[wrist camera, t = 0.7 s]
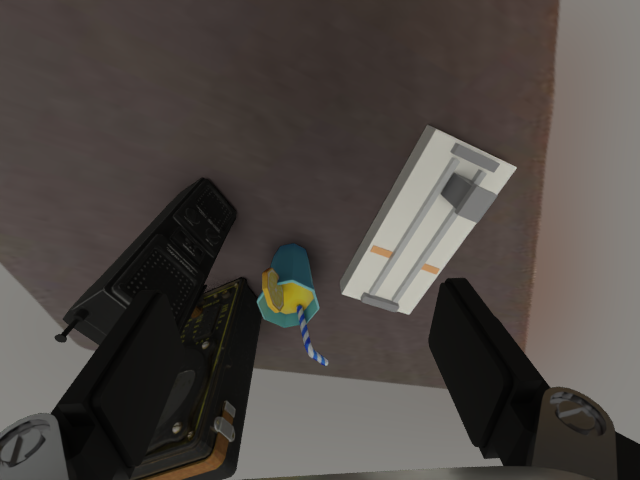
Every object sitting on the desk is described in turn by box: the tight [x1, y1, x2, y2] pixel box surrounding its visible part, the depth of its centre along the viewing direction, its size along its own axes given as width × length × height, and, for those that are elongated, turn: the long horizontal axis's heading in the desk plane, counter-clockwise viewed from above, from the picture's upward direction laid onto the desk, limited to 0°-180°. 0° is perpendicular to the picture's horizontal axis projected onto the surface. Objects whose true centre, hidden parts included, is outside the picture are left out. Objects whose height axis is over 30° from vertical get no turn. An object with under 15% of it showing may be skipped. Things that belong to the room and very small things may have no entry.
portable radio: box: [55, 178, 236, 345], centre depth 32 cm, size 8×6×25 cm
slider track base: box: [340, 125, 517, 315], centre depth 44 cm, size 26×12×4 cm, turn 157°
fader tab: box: [441, 173, 498, 223], centre depth 37 cm, size 4×3×6 cm
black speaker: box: [129, 278, 262, 480], centre depth 41 cm, size 16×9×25 cm, turn 115°
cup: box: [257, 243, 328, 366], centre depth 41 cm, size 14×8×15 cm, turn 35°
